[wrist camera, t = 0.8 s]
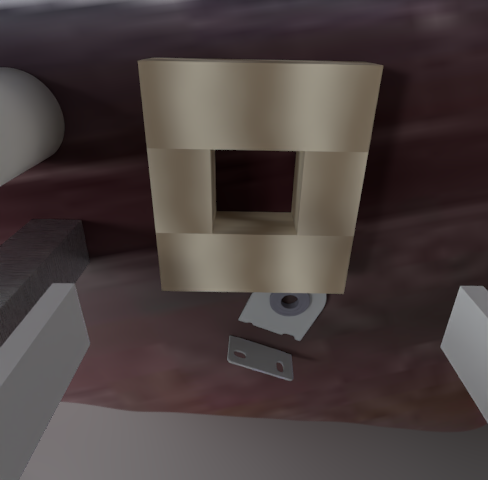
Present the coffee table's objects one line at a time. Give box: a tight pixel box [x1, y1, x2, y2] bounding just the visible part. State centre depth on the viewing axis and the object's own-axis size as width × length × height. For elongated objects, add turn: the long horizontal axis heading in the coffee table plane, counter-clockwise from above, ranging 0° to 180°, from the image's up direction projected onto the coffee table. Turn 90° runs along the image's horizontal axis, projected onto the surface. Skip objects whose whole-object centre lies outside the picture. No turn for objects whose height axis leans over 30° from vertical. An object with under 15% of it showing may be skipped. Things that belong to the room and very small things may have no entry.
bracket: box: [227, 292, 326, 381], centre depth 34 cm, size 7×10×4 cm, turn 158°
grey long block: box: [0, 219, 90, 348], centre depth 25 cm, size 4×4×14 cm
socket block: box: [138, 58, 383, 294], centre depth 27 cm, size 14×16×4 cm
